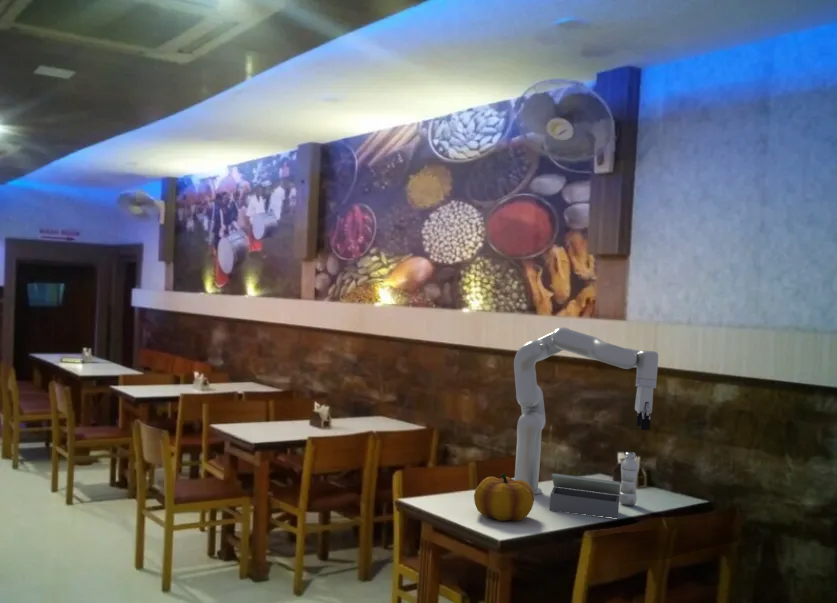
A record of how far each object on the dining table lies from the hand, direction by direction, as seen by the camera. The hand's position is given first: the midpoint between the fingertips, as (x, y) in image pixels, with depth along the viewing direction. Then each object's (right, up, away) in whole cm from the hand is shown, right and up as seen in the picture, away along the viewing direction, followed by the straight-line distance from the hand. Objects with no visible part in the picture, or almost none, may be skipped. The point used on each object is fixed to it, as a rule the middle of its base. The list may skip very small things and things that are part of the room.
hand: (642, 427), depth 295 cm
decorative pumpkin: (-56, -26, -28) cm, 68 cm away
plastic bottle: (-5, -30, +2) cm, 31 cm away
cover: (-24, -19, -11) cm, 33 cm away
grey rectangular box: (-25, -28, -12) cm, 40 cm away
